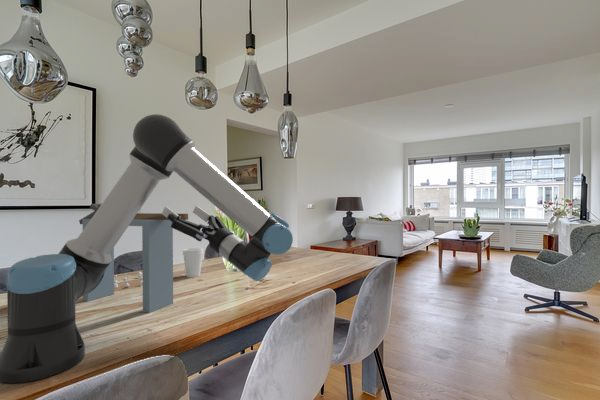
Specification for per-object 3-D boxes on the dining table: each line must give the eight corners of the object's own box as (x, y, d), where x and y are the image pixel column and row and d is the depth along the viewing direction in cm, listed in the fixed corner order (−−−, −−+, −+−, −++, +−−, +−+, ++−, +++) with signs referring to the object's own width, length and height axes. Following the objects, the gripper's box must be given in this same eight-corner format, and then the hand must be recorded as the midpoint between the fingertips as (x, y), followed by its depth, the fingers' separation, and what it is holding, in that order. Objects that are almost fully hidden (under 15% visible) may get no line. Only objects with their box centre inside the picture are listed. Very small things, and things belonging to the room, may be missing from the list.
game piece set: (126, 277, 153) (126, 269, 153) (166, 278, 151) (166, 270, 151) (97, 288, 134) (97, 279, 134) (142, 289, 132) (142, 280, 132)
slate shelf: (149, 312, 102) (148, 220, 103) (82, 300, 116) (82, 219, 116) (173, 303, 112) (172, 218, 112) (109, 293, 125) (108, 217, 125)
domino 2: (107, 215, 115) (91, 203, 118) (106, 219, 115) (90, 207, 119) (120, 214, 119) (104, 203, 123) (118, 218, 119) (103, 207, 123)
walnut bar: (181, 220, 102) (181, 213, 102) (129, 219, 111) (129, 213, 111) (188, 219, 104) (188, 213, 104) (137, 218, 114) (137, 213, 114)
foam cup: (178, 277, 151) (178, 250, 151) (190, 273, 160) (190, 247, 160) (195, 278, 148) (195, 250, 148) (207, 274, 157) (206, 248, 157)
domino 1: (94, 210, 117) (79, 220, 121) (95, 214, 117) (80, 224, 121) (107, 210, 122) (92, 219, 126) (108, 214, 122) (93, 223, 125)
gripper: (193, 261, 86) (144, 221, 93) (244, 248, 109) (201, 217, 116) (204, 238, 85) (153, 199, 92) (253, 230, 107) (209, 199, 115)
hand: (180, 209), depth 104 cm, fingers open, 13 cm apart
